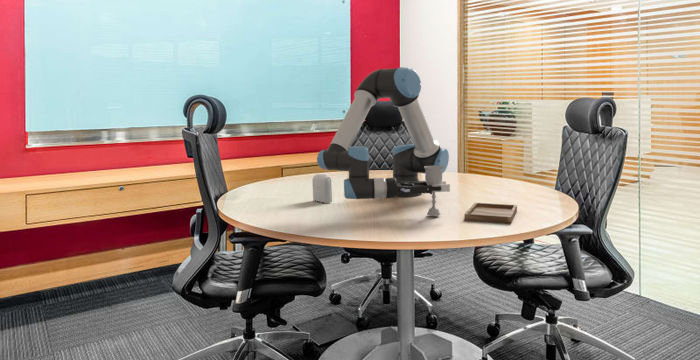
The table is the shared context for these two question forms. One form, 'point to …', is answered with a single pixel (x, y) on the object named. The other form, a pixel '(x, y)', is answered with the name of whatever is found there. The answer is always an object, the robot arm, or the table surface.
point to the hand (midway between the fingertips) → (447, 186)
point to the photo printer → (322, 188)
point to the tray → (491, 213)
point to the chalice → (433, 177)
